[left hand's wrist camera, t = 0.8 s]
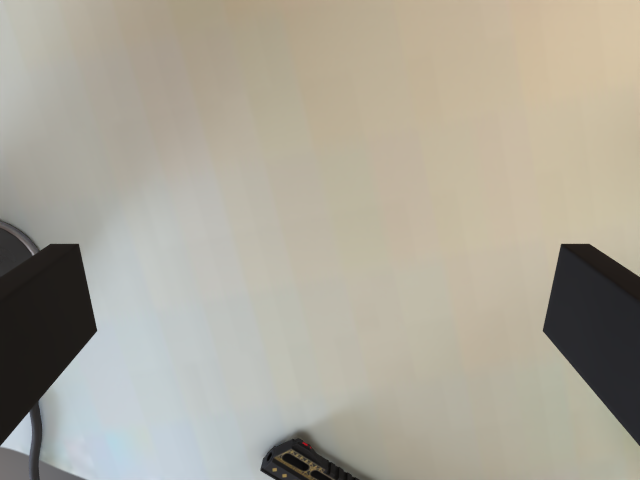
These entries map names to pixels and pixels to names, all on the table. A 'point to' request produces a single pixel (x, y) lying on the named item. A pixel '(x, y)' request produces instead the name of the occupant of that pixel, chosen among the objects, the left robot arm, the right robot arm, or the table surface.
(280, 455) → the decorative firearm
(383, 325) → the table surface
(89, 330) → the left robot arm
